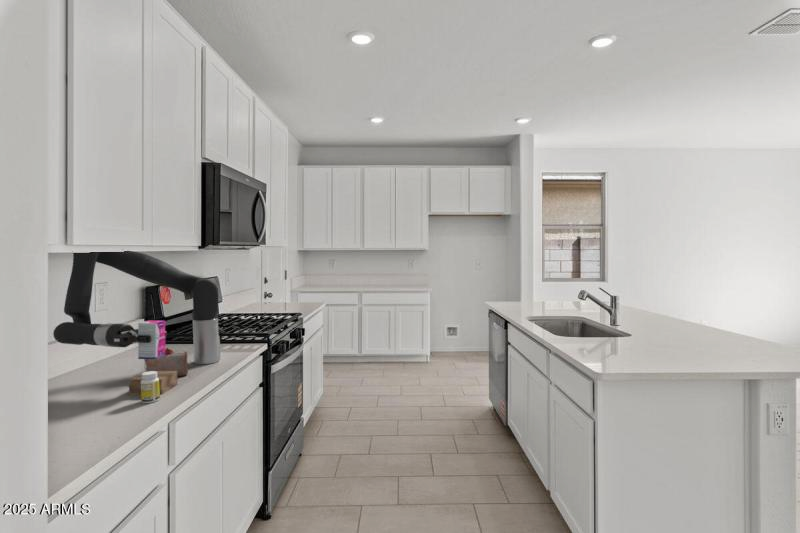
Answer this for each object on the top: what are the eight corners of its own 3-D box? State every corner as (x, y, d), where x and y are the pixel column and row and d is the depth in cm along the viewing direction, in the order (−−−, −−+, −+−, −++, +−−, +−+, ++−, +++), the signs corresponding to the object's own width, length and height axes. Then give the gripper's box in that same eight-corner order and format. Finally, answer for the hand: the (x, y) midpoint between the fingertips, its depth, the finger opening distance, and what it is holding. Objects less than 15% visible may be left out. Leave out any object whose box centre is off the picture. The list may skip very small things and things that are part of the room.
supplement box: (156, 359, 141) (155, 323, 140) (137, 359, 141) (136, 322, 140) (166, 354, 146) (165, 320, 146) (148, 354, 146) (147, 320, 146)
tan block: (147, 386, 149) (147, 371, 149) (177, 385, 149) (177, 370, 149) (129, 396, 139) (128, 380, 139) (161, 395, 139) (161, 379, 139)
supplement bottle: (155, 397, 137) (154, 369, 136) (162, 400, 134) (161, 372, 133) (138, 401, 133) (137, 373, 133) (145, 404, 130) (144, 376, 130)
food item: (143, 381, 154) (141, 352, 154) (148, 375, 162) (146, 348, 161) (186, 377, 158) (185, 349, 158) (189, 371, 166) (188, 345, 166)
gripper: (94, 327, 139) (140, 329, 136) (131, 320, 153) (174, 321, 150) (95, 351, 140) (141, 353, 136) (132, 342, 154) (174, 343, 150)
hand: (158, 336), depth 143 cm, fingers closed on supplement box, 6 cm apart
